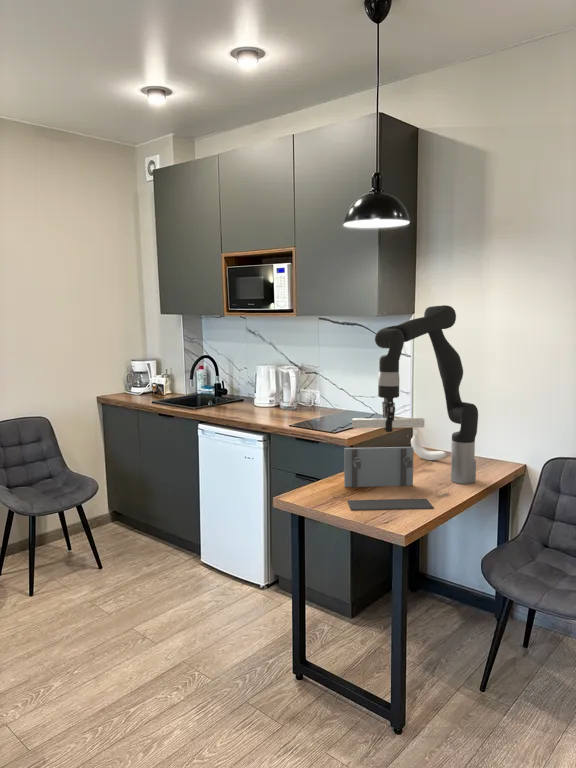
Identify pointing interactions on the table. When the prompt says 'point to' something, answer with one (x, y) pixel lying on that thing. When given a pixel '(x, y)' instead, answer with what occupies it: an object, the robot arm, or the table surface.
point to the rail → (382, 423)
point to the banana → (425, 453)
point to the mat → (389, 504)
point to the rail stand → (378, 466)
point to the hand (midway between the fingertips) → (388, 430)
